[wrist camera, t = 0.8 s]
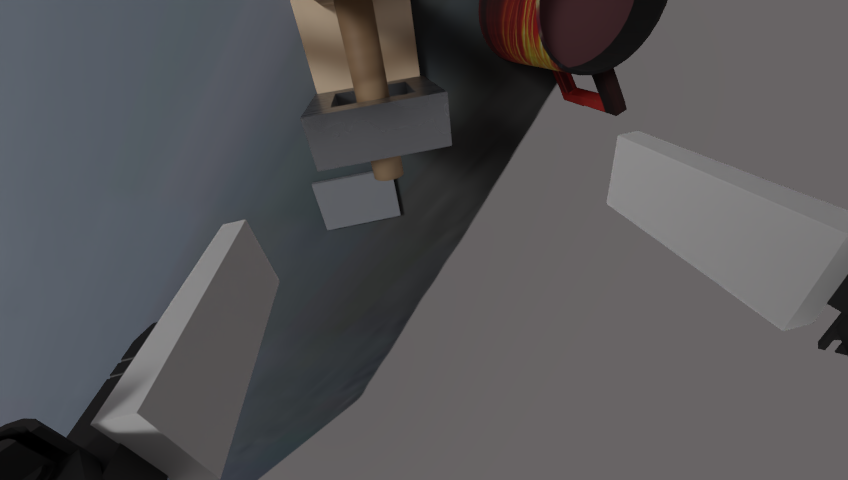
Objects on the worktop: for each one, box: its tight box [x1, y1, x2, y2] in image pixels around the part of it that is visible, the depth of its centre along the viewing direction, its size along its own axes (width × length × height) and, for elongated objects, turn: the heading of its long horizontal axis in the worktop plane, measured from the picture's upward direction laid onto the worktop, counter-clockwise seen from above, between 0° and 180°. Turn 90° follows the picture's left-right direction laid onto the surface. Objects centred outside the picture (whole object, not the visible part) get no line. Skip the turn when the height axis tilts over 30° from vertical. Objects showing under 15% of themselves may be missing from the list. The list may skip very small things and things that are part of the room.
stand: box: [290, 0, 420, 181], centre depth 23 cm, size 13×10×20 cm
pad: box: [312, 171, 400, 230], centre depth 39 cm, size 6×9×1 cm, turn 98°
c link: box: [300, 76, 452, 171], centre depth 22 cm, size 8×3×8 cm, turn 98°
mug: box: [479, 0, 667, 116], centre depth 28 cm, size 10×14×12 cm
